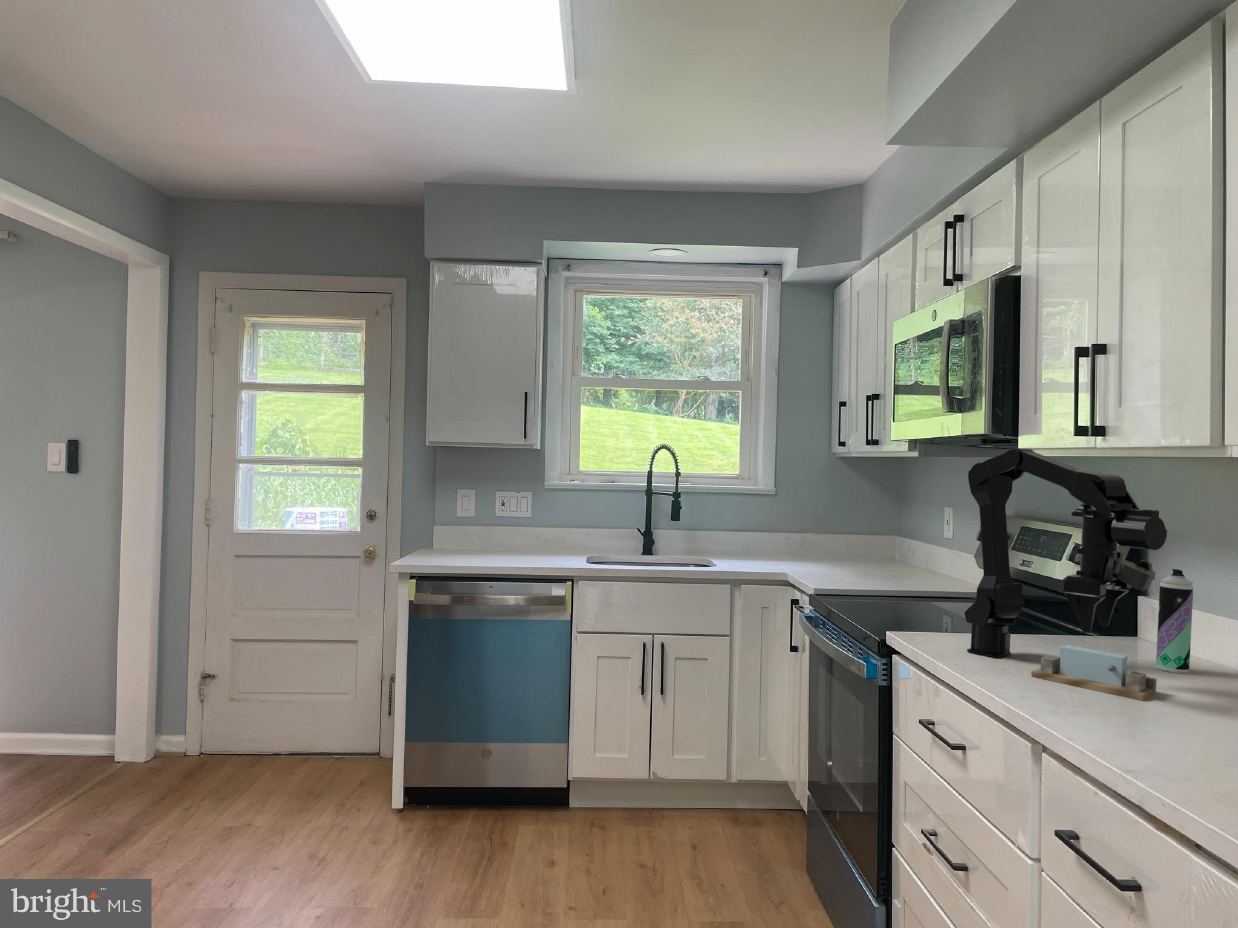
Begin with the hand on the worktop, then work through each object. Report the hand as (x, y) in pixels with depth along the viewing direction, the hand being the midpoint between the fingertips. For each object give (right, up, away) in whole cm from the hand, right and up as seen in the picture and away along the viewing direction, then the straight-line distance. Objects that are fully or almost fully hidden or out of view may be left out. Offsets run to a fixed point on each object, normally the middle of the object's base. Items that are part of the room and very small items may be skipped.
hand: (1095, 629), depth 148 cm
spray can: (+23, -11, +14) cm, 30 cm away
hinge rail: (-1, -10, 0) cm, 10 cm away
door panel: (0, -9, 0) cm, 9 cm away
